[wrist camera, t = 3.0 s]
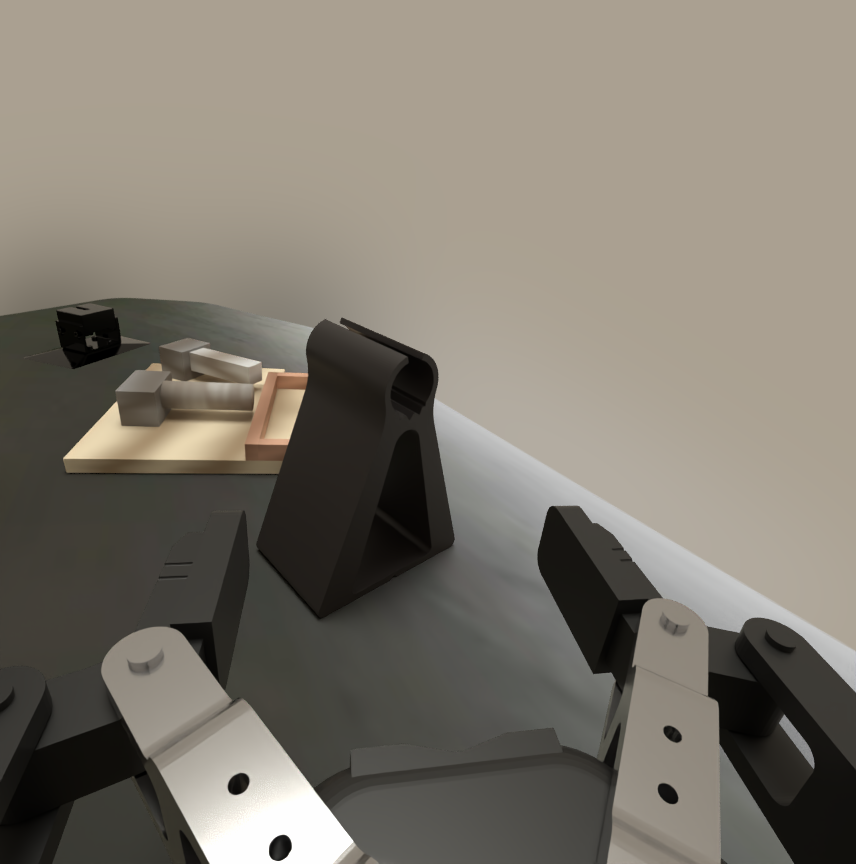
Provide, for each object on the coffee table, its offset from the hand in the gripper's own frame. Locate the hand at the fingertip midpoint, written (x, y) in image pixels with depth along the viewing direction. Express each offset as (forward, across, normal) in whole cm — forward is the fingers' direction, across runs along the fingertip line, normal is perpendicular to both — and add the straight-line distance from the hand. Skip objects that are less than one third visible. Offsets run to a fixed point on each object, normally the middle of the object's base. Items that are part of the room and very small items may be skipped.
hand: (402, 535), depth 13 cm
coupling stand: (+28, +7, +9) cm, 30 cm away
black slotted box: (+42, +25, +10) cm, 50 cm away
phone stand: (+12, 0, +10) cm, 15 cm away
